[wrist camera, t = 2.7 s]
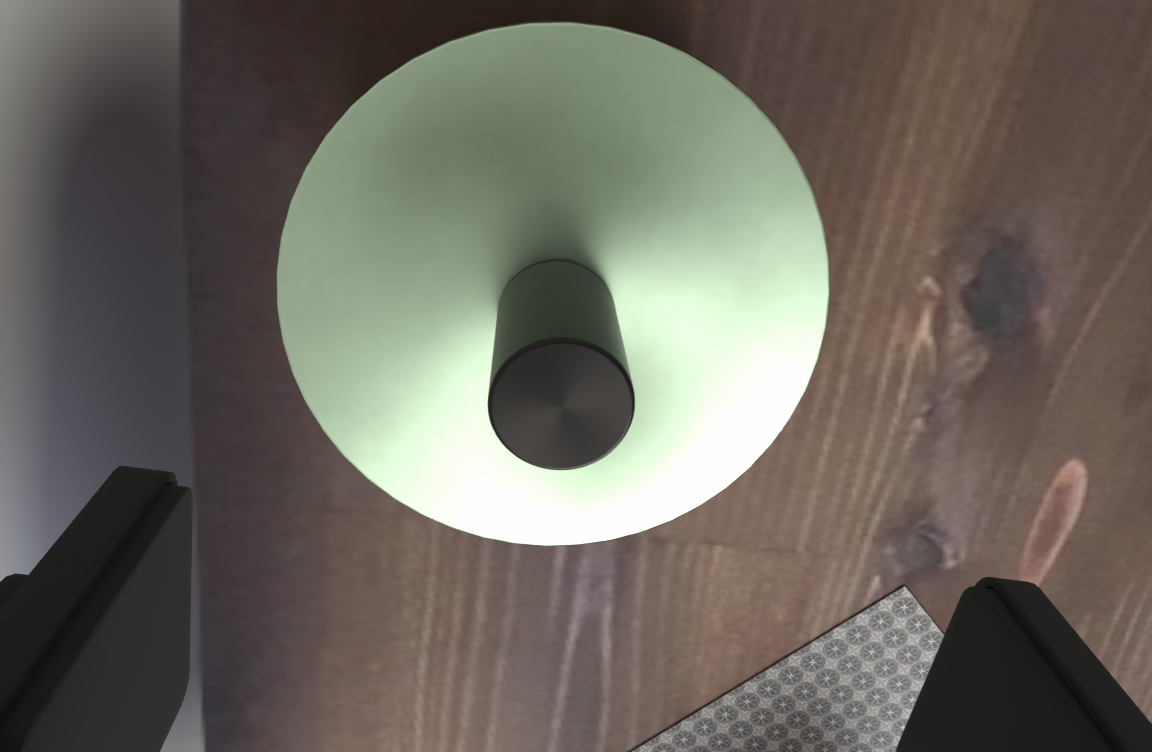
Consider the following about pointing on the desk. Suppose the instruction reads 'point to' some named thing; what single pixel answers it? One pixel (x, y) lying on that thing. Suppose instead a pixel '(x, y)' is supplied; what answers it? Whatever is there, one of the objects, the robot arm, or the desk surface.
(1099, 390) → the desk surface
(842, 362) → the desk surface
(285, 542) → the desk surface
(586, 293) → the pot lid
